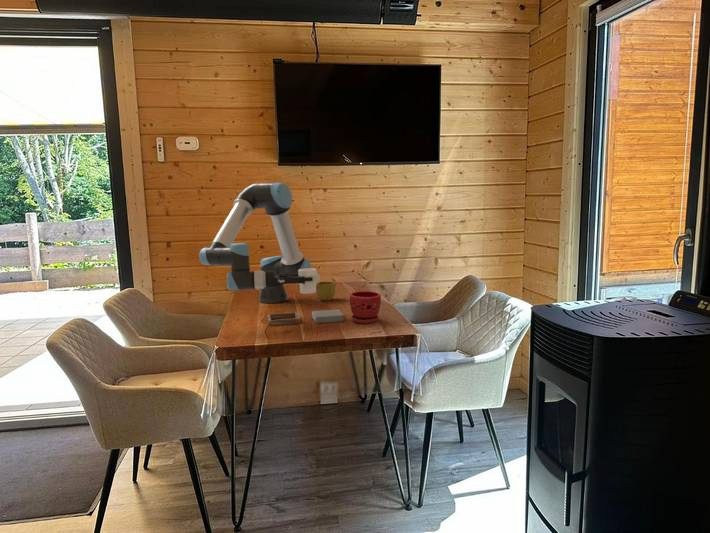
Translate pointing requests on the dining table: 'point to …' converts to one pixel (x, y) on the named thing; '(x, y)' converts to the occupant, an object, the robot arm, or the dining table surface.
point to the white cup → (308, 286)
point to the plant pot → (365, 306)
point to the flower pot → (325, 290)
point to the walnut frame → (283, 321)
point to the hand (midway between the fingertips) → (319, 276)
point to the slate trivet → (327, 316)
